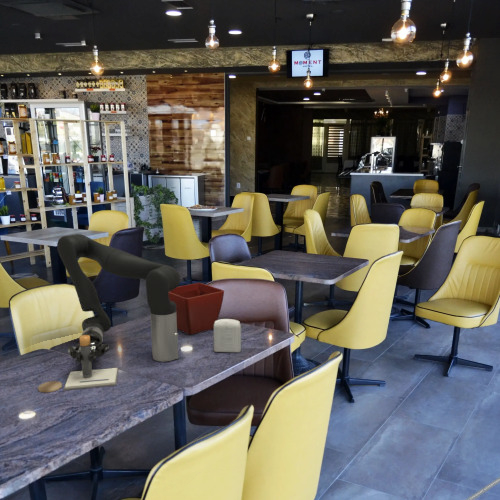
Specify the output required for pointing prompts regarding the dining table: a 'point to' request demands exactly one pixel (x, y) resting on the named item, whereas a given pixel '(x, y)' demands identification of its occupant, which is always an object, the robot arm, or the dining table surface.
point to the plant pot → (196, 307)
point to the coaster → (50, 386)
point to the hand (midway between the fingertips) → (85, 359)
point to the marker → (85, 356)
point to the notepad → (92, 379)
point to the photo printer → (227, 335)
